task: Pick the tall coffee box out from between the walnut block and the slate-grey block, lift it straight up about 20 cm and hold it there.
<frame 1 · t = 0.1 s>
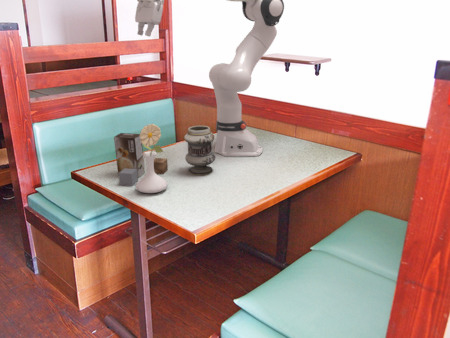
hand: (143, 35, 160), 52 cm above the table, tool tilted 20°, fingers open, 8 cm apart
coffee box: (131, 174, 165), on the table
slate grey block: (129, 183, 157), on the table
walnut block: (159, 171, 168), on the table
apothecary jar: (200, 171, 169), on the table
flower in vase: (153, 190, 150), on the table
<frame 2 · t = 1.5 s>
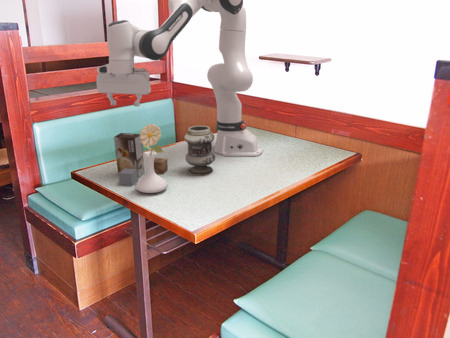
hand: (125, 105, 156), 28 cm above the table, tool pointing down, fingers open, 8 cm apart
nothing on the table moved.
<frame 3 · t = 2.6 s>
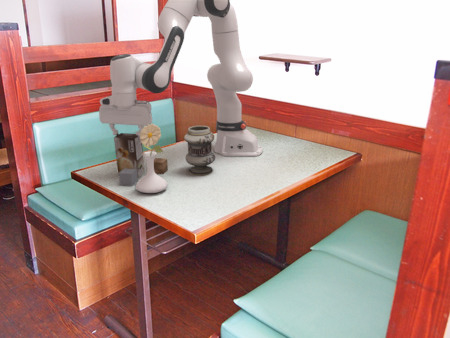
hand: (127, 135, 160), 16 cm above the table, tool pointing down, fingers closed on coffee box, 8 cm apart
coffee box: (131, 174, 165), on the table, touching gripper
everything else where it was.
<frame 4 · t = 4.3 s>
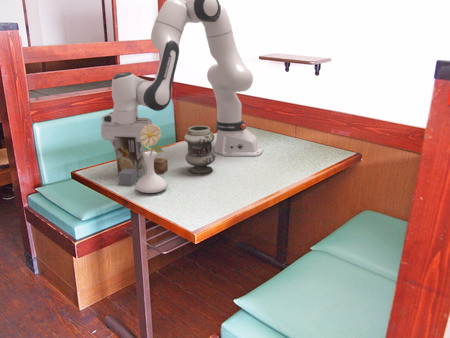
hand: (128, 151, 162), 9 cm above the table, tool pointing down, fingers closed on coffee box, 8 cm apart
coffee box: (131, 174, 166), on the table, touching gripper
everything else where it was.
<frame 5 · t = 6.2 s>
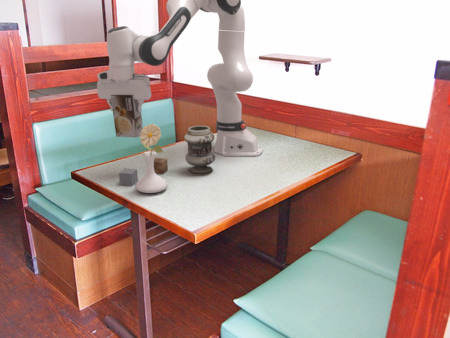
hand: (126, 111, 157), 25 cm above the table, tool pointing down, fingers closed on coffee box, 8 cm apart
coffee box: (129, 135, 161), point 16 cm above the table, touching gripper
everything else where it was.
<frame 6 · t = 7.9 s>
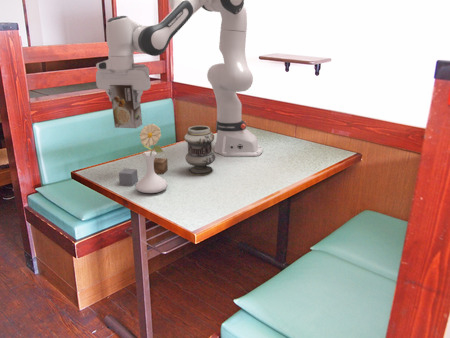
hand: (125, 101, 155), 29 cm above the table, tool pointing down, fingers closed on coffee box, 8 cm apart
coffee box: (128, 126, 159), point 19 cm above the table, touching gripper
everything else where it was.
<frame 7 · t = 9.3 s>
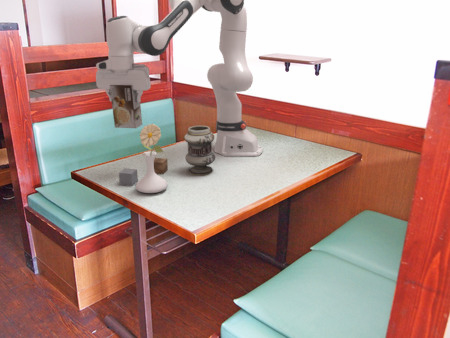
hand: (125, 101, 155), 29 cm above the table, tool pointing down, fingers closed on coffee box, 8 cm apart
coffee box: (128, 126, 159), point 19 cm above the table, touching gripper
everything else where it was.
at the end: the gripper is holding coffee box; coffee box point 19.2 cm above the table; slate grey block moved 0.1 cm from its start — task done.
